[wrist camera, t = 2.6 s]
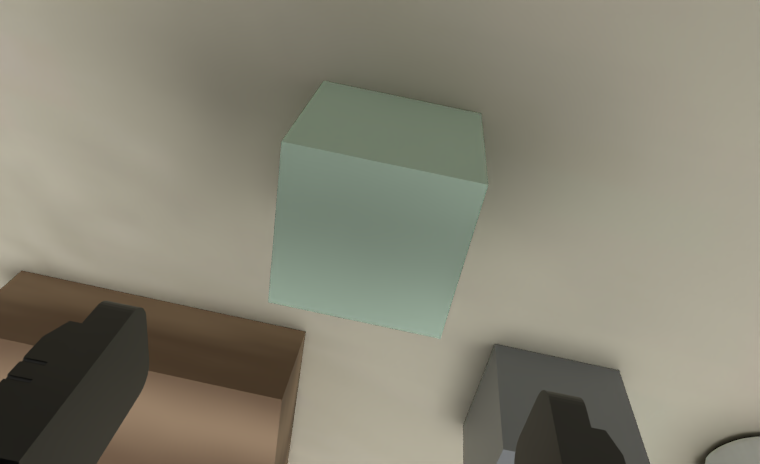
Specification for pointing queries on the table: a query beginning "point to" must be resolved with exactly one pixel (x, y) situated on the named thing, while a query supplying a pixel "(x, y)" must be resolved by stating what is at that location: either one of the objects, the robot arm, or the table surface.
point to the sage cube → (376, 208)
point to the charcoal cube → (519, 392)
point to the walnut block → (177, 374)
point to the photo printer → (737, 452)
